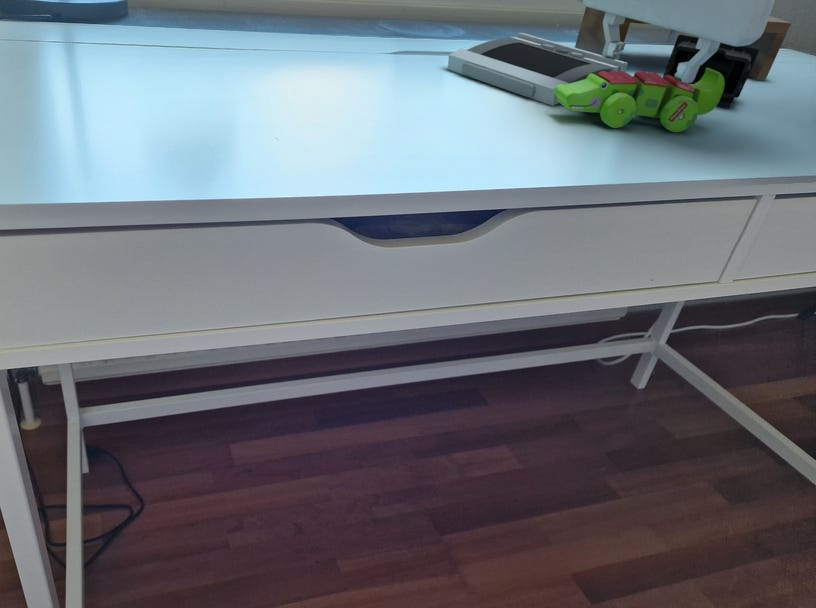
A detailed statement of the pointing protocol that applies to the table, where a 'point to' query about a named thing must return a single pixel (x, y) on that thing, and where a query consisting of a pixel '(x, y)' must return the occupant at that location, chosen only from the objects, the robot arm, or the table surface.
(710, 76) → the toy crocodile
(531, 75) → the alarm clock
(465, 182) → the table surface
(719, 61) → the end cap
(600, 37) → the shoe shelf
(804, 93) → the table surface
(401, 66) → the table surface
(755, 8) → the robot arm
